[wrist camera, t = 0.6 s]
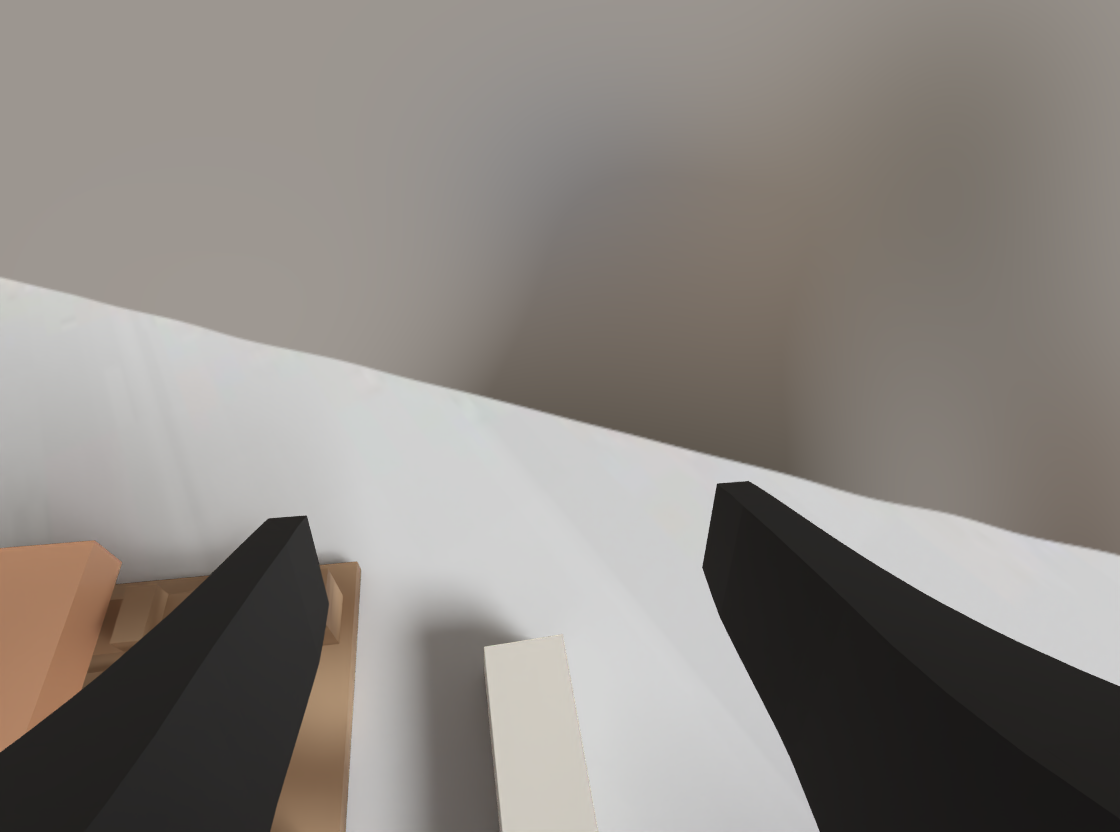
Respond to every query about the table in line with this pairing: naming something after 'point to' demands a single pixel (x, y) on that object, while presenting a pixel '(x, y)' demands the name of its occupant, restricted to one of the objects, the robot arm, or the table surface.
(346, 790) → the slotted wooden stand
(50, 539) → the table surface
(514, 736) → the pale grey bar
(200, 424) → the table surface
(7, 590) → the fired strip
